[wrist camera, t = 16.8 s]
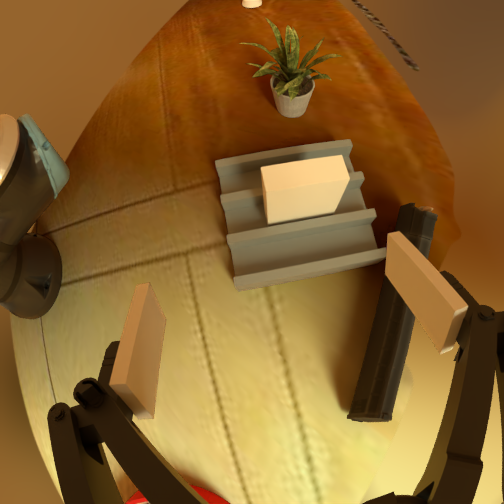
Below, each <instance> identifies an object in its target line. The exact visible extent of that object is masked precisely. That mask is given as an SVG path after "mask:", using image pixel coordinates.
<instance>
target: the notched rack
mask: <svg viewBox="0 0 504 504" xmlns="http://www.w3.org/2000/svg"><path fill="white" fill-rule="evenodd" d="M352 146H353V145H352V143H351V140H350V139H348V140H339V141H330V142H323V143H315V144H308V145H301V146H294V147H287V148H281V149H275V150H269V151H263V152H257V153H252V154H246V155H241V156H236V157H231V158H226V159H221V160H216V161H215V164H216V169H217V172H218V175H219V178H220V184H221V191H222V195H220V198H221V204H222V206H223V208H224V211H225V217H226V223H227V229H228V235H226V236H227V242H228V245H229V247H230V249H231V254H232V260H233V266H234V272H235V277H233V279H234V285H235V288H236V289H237V290H238V291H244V290H249V289H255V288H260V287H266V286H271V285H276V284H281V283H287V282H292V281H297V280H302V279H307V278H312V277H317V276H322V275H327V274H332V273H336V272H341V271H346V270H351V269H355V268H360V267H365V266H369V265H374V264H378V263H379V262H381V261H382V260H383V259H385V258H386V253H387V250H386V247H385V248H381V249H378V248H377V245H376V241H375V237H374V234H373V230H372V227H371V223H372V222H373V220H374V219H375V218H376V217H377V215H376V212H375V209H374V208H372V209H366V206H365V203H364V200H363V197H362V194H361V191H360V186H361V184H362V183H363V181H364V179H365V178H364V175H363V172H362V171H360V172H354V170H353V167H352V164H351V161H350V158H349V154H350V152H351V149H352ZM337 155H342V157H343V159H344V162H345V165H346V168H347V171H348V174H349V177H350V180H349V182H348V184H347V186H346V188H345V191H344V193H343V195H342V197H341V199H340V201H339V204H338V206H337V208H336V210H335V212H334V214H333V215H331V216H326V217H320V218H315V219H309V220H303V221H298V222H292V223H287V224H281V225H276V226H271V227H268V225H267V220H266V215H265V210H264V199H263V188H262V176H261V167H265V166H270V165H276V164H282V163H288V162H295V161H301V160H308V159H315V158H322V157H329V156H337Z"/></svg>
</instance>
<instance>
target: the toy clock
mask: <svg viewBox="0 0 504 504" xmlns="http://www.w3.org/2000/svg"><path fill="white" fill-rule="evenodd" d="M189 485H190V484H189ZM190 486H191V487H192V488H193V489H194V490H195V491H196V492H197V493H198V494H199V495H200V496H201V497H202V498H203V499H205V500H206V501H207V502H208V503H209V504H230V503H228V502H227V501H226V500H224V499H223V498H221V497H220V496H218V495H216V494H214V493H212V492H210V491H208V490H205V489H203V488H200V487H197V486H193V485H190ZM125 504H150V503H149V502H148V501H147V499H146V498H145V497H144V496H143V495H142V493H141V492H140V491H139V490H138V491H137V492H136V493H135V494H134V495H133V496H132V497H131V498H130V499H129V500H128V501H127V502H126V503H125Z"/></svg>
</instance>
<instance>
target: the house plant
mask: <svg viewBox="0 0 504 504" xmlns="http://www.w3.org/2000/svg"><path fill="white" fill-rule="evenodd" d="M265 18H266V17H265ZM266 19H267V18H266ZM267 21H268V22H269V24H270V26H271V27H272V29H273V31H274V34H275V37H276V40H277V43H278V45H279V47H280V48H276V49H273V50H272V51H271V52H269V51H268V50H267V49H266V48H265V47H263V46H262V45H260V44H256V43H239V44H249V45H254V46H257V47H260V48H262V49H263V50H265V51H266V52H268V53H269V54H270V55H271V56H272V57H273V58H274V59H275V60H276V61H277V62H278V64H279V65H280V67H281V69H282V70H281V69H280V68H279V67H277V66H274V67H276V68H277V69H278V70H279V71H278V72H277V71H275V70H272V69H267V68H269V67H271V65H273V64H277V63H275V62H272V61H270V62H267V63H266V64H265V65H264V66H263V67H262V66H261V65H258V64H253V63H247V64H249V65H254V66H256V67H259V68H260V70H258V71H257V72H256V73H255V74H254V76H253V77H259V76H263V75H266V74H271V75H273V76H272V78H271V80H270V85H271V89H272V92H273V96H274V100H275V104H276V107H277V110H278V112H279V113H280V114H282V115H283V116H286V117H292V118H294V117H298V116H301V115H302V114H303V113H304V112H305V110H306V108H307V105H308V103H309V100H310V97H311V95H312V92H313V89H314V87H315V83H314V79H321V78H327V79H330V78H329V76H328V75H326V74H320V73H319V72H318V71H316V70H313V69H309V68H310V67H312V66H313V65H316V64H318V63H321V62H323V61H325V60H326V59H328V58H333V57H340V56H341V55H337V54H329V55H325V56H322V57H320V58H317V59H315V60H314V61H313V62H312V63H311V64H310V65H308V66H307V67H306V68H305V66H306V64H307V62H308V61H309V60H310V59H311V58H312V57H313V56H314V55H315V54H316V53H317V52H318V50H317V49H318V48H319V46H320V44H321V43H322V41H323V39H324V38H323V39H322V40H321V41H320V42H319V43H318V44H317V45H316V46H315V47H314V49H313V50H310V51H308V52H307V54H306V55H305V57H304V58H303V60H302V62H301V64H300V67H299V69H297V65H298V60H299V39H298V36H297V33H296V31H295V30H294V28H293V30H292V29H291V28H290V27H288V26H289V25H287V28H286V37H285V47H284V44H283V41H282V38H281V35H280V32H279V30H278V28H277V27H276V26H275V25H274V24H273V23H272V22H271V21H270V20H269V19H267ZM289 30H290V33H289ZM302 37H303V36H302ZM302 37H301V38H302ZM290 38H291V53H290ZM301 38H300V39H301ZM342 57H343V56H342ZM313 72H317V73H319V75H316V76H313V77H311V76H310V75H309V74H311V73H313ZM274 73H275V74H274ZM253 77H252V78H253ZM330 80H331V79H330ZM331 81H332V80H331Z"/></svg>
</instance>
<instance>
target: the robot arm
mask: <svg viewBox="0 0 504 504" xmlns="http://www.w3.org/2000/svg"><path fill="white" fill-rule="evenodd" d="M69 177H70V171H69V168H68V166H67V165H66V164H65V162H64V161H63V160H62V158H61V157H60V156H59V154H58V153H57V152H56V150H55V149H54V148H53V146H52V145H51V144H50V142H49V141H48V140H47V138H46V137H45V135H44V134H43V133H42V131H41V130H40V128H39V127H38V126H37V124H36V123H35V122H34V120H33V119H32V117H31V116H30V115H29V114H24V115H23V116H22V117H19V118H18V120H16V119H15V118H13V117H12V116H10V115H8V114H2V115H0V305H2V306H3V307H5V308H6V309H8V310H9V311H10V312H11V313H13V314H14V315H16V316H18V317H20V318H26V319H36V318H39V317H41V316H43V315H44V314H45V313H47V312H48V311H49V309H50V308H51V307H52V305H53V304H54V302H55V300H56V298H57V295H58V293H59V289H60V285H61V279H62V264H61V258H60V255H59V252H58V250H57V248H56V246H55V245H54V243H53V242H52V241H51V240H50V239H48V238H46V237H44V236H42V235H40V234H37V233H27V232H28V230H29V229H30V228H31V226H32V225H33V224H34V223H35V222H36V220H37V219H38V218H39V217H40V216H41V214H42V213H43V212H44V211H45V210H46V208H47V207H48V206H49V205H50V204H51V203H52V202H53V200H54V199H56V198H57V195H58V193H59V192H60V191H61V189H62V188H63V187H64V186H65V184H66V183H67V182H68V180H69ZM385 275H386V276H387V277H388V279H389V280H390V282H391V283H392V284H393V286H394V287H395V288H396V290H397V291H398V293H399V294H400V295H401V297H402V298H403V300H404V301H405V303H406V304H407V305H408V307H409V308H410V310H411V311H412V313H413V314H414V316H415V317H416V318H417V320H418V321H419V323H420V324H421V326H422V327H423V329H424V330H425V332H426V333H427V335H428V336H429V338H430V340H431V341H432V343H433V344H434V345H435V347H436V349H437V350H438V352H439V354H442V353H445V352H447V351H450V350H452V349H453V347H454V344H455V342H456V341H457V342H458V344H459V345H460V347H459V349H458V352H457V354H456V356H455V359H454V361H456V364H455V370H454V375H453V379H452V384H451V388H450V393H449V396H448V400H447V404H446V408H445V412H444V415H443V419H442V422H441V426H440V429H439V432H438V435H437V439H436V442H435V445H434V448H433V451H432V453H431V456H430V459H429V462H428V464H427V467H426V470H425V472H424V475H423V477H422V478H421V480H420V482H419V483H418V485H417V487H416V489H415V491H414V493H413V495H412V496H410V495H395V494H394V492H391V493H389V494H386V495H383V496H381V497H378V498H375V499H372V500H369V501H366V502H365V503H363V504H472V502H473V499H474V496H475V493H476V489H477V486H478V483H479V480H480V476H481V472H482V469H483V462H482V461H481V459H480V457H481V452H482V448H483V444H484V439H485V434H486V430H487V424H488V419H489V413H490V407H491V401H492V393H493V385H494V376H495V370H496V377H497V384H498V392H499V401H500V412H501V426H502V452H503V453H502V494H503V502H502V504H504V311H502V312H495V311H494V310H493V309H492V308H491V307H489V306H486V305H479V304H478V303H477V302H476V301H475V299H474V298H473V297H472V296H471V295H470V294H469V292H468V291H467V290H466V289H465V288H463V286H462V285H461V284H460V283H459V281H458V280H456V278H455V277H454V276H453V275H451V274H450V273H448V272H446V271H442V272H438V271H437V270H436V268H435V267H434V266H433V265H432V264H431V263H430V262H429V261H428V260H427V259H426V258H425V257H424V256H423V255H422V254H421V253H420V252H419V250H418V249H417V248H416V247H415V246H414V245H413V244H412V243H411V242H410V241H409V240H408V239H407V238H406V237H405V236H404V235H403V234H402V233H401V232H400V231H397V232H392V233H388V236H387V253H386V267H385ZM165 325H166V318H165V316H164V314H163V312H162V310H161V307H160V305H159V303H158V301H157V298H156V296H155V294H154V292H153V289H152V287H151V285H150V282H149V283H144V284H139V285H137V286H136V289H135V292H134V295H133V299H132V302H131V305H130V308H129V312H128V315H127V319H126V322H125V325H124V329H123V333H122V336H121V340H120V341H114V342H111V344H110V345H109V347H108V348H107V349H106V352H105V356H104V360H103V363H102V367H101V370H100V373H99V377H98V381H97V380H96V379H94V378H85V379H83V380H81V381H80V382H79V383H78V384H77V385H76V387H75V389H74V392H73V395H74V399H75V400H76V401H77V402H78V403H79V404H80V405H77V406H74V407H71V408H70V407H69V406H68V405H67V404H65V403H62V402H60V403H57V404H55V405H53V406H52V407H51V409H50V410H49V412H48V417H47V419H48V427H49V434H50V440H51V446H52V451H53V457H54V462H55V466H56V471H57V475H58V480H59V484H60V488H61V492H62V496H63V499H64V503H65V504H124V503H123V501H122V498H121V496H120V493H119V491H118V488H117V486H116V483H115V481H114V478H113V475H112V472H111V470H110V467H109V464H108V461H107V458H106V455H105V452H104V449H103V446H102V443H103V442H105V444H106V445H107V447H108V448H109V450H110V451H111V453H112V454H113V456H114V457H115V458H116V460H117V461H118V463H119V464H120V466H121V467H122V468H123V470H124V471H125V472H126V474H127V475H128V477H129V478H130V479H131V481H132V482H133V483H134V484H135V486H136V487H137V488H138V490H139V491H140V492H141V493H142V495H143V496H144V497H145V498H146V499H147V501H148V502H149V503H150V504H209V503H208V502H207V501H206V500H205V499H203V498H202V497H201V496H200V495H199V494H198V493H197V492H196V491H195V490H194V489H193V488H192V487H191V486H190V485H189V484H188V483H187V482H186V481H185V480H184V479H183V478H182V477H181V476H180V475H179V474H178V473H177V472H176V471H175V470H174V468H173V467H172V466H171V465H170V464H169V463H168V462H167V461H166V460H165V459H164V458H163V456H162V455H161V454H160V453H159V452H158V451H157V450H156V448H155V447H154V446H153V445H152V444H151V443H150V441H149V440H148V439H147V438H146V437H145V435H144V434H143V433H142V432H141V431H140V429H139V428H138V427H137V426H136V424H135V423H134V422H133V421H132V417H133V414H134V415H135V416H136V417H137V418H138V419H154V412H155V402H156V393H157V384H158V376H159V368H160V360H161V352H162V345H163V338H164V331H165Z"/></svg>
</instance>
